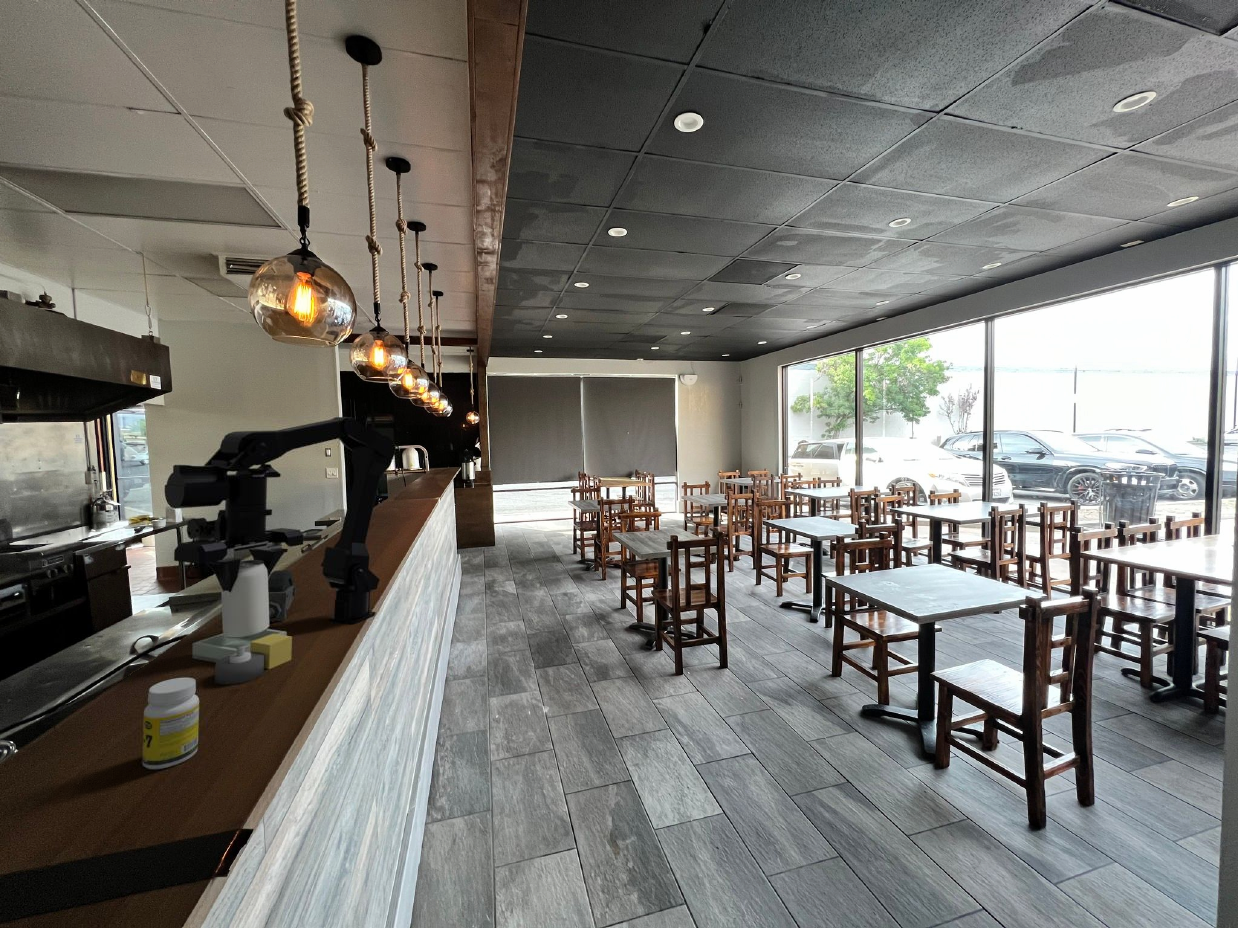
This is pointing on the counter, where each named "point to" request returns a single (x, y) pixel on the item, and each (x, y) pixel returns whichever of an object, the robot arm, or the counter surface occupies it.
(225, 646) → the tray
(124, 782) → the counter surface
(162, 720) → the supplement bottle
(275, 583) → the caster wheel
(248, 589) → the can
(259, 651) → the yellow cube
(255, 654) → the trolley wheel
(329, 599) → the counter surface
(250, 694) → the counter surface
